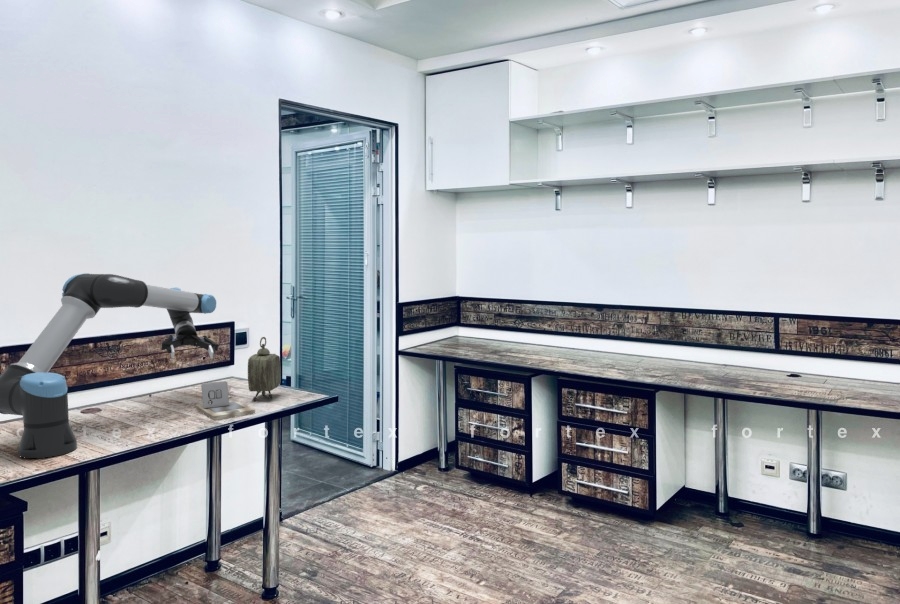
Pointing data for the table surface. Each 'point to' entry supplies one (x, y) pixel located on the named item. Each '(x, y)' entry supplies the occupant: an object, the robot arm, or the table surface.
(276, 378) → the tabletop clock
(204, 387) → the electrical switch
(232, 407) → the mounting board
